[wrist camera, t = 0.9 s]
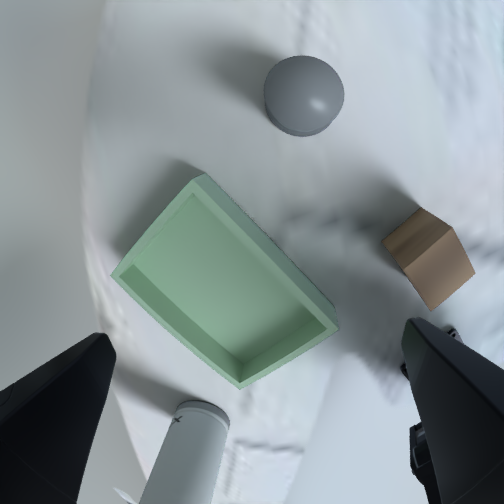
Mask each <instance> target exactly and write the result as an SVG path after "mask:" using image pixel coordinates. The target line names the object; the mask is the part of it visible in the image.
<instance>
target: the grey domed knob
mask: <svg viewBox="0 0 504 504" xmlns="http://www.w3.org/2000/svg"><path fill="white" fill-rule="evenodd" d="M264 97H265V106H266V110H267V113H268V115H269V117H270V119H271V121H272V122H273V123H274V124H275V125H276V126H277V127H278V128H279V129H280V130H282V131H283V132H285V133H287V134H290V135H293V136H299V137H305V136H311V135H315V134H318V133H320V132H321V131H323V130H324V129H326V128H327V127H328V126H329V125H330V123H331V122H332V121H333V120H334V119H335V118H336V116H337V115H338V114H339V112H340V110H341V108H342V105H343V102H344V88H343V84H342V81H341V79H340V77H339V76H338V74H337V73H336V71H335V70H334V69H333V68H332V67H331V66H330V65H328V64H327V63H325V62H324V61H322V60H320V59H317V58H315V57H310V56H293V57H290V58H287V59H284V60H283V61H281V62H279V63H278V64H277V65H275V66H274V67H273V68H272V70H271V71H270V72H269V74H268V76H267V78H266V81H265V85H264Z"/></svg>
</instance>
